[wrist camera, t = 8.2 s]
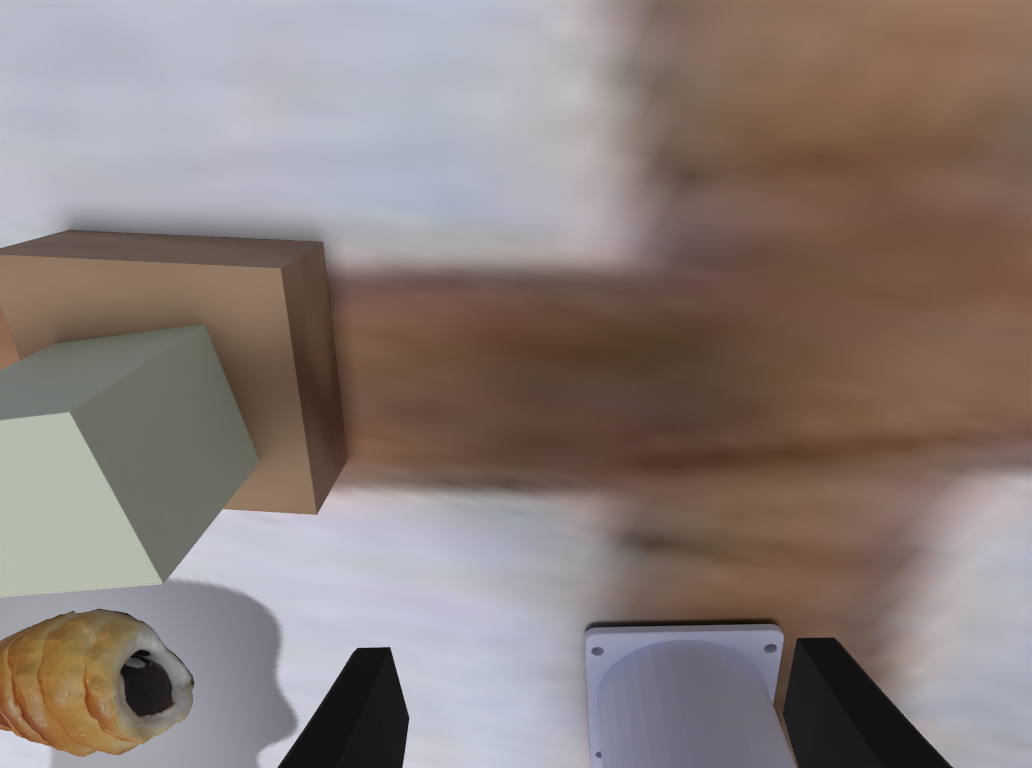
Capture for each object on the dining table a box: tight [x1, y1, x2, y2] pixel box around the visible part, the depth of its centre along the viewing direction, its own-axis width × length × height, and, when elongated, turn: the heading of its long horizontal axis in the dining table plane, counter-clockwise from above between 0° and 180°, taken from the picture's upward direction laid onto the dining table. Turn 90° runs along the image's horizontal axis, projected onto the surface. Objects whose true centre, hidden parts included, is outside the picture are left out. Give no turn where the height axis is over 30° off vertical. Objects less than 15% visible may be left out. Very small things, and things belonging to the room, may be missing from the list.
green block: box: [0, 324, 260, 597], centre depth 15 cm, size 4×4×5 cm
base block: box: [0, 230, 347, 515], centre depth 18 cm, size 8×8×4 cm
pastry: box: [0, 609, 194, 757], centre depth 26 cm, size 9×7×4 cm
